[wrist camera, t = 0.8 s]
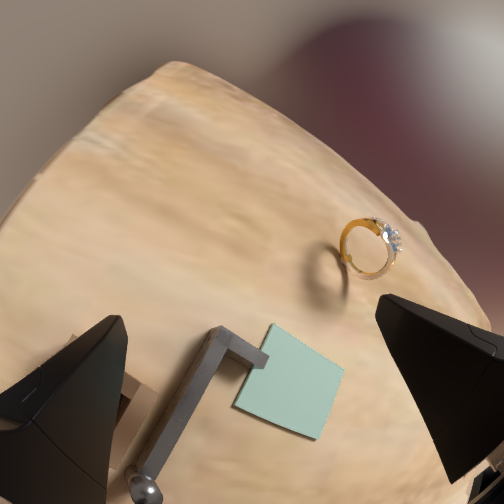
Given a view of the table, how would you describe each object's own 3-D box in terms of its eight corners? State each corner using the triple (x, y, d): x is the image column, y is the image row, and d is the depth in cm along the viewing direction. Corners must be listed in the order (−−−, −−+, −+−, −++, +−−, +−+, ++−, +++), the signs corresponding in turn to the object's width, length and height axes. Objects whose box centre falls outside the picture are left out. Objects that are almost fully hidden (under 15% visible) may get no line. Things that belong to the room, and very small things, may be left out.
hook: (180, 501, 14) (197, 524, 10) (120, 478, 13) (126, 501, 9) (256, 356, 22) (285, 354, 19) (207, 325, 21) (228, 318, 18)
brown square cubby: (112, 450, 13) (115, 470, 10) (41, 402, 12) (27, 412, 9) (148, 387, 17) (159, 394, 14) (79, 338, 16) (72, 333, 12)
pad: (316, 439, 21) (318, 439, 21) (233, 404, 19) (234, 405, 19) (342, 369, 26) (344, 369, 26) (272, 323, 24) (274, 323, 24)
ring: (360, 284, 32) (414, 262, 26) (346, 291, 30) (403, 269, 24) (339, 232, 33) (389, 203, 27) (324, 235, 32) (376, 204, 25)
